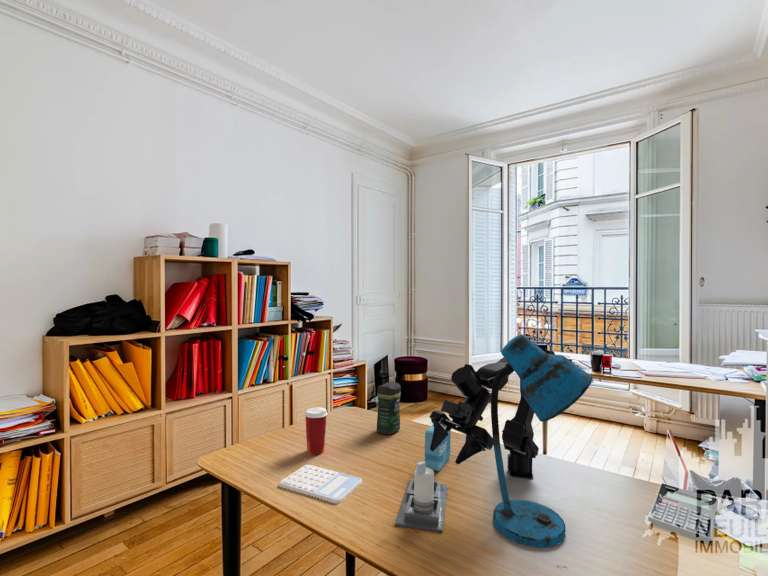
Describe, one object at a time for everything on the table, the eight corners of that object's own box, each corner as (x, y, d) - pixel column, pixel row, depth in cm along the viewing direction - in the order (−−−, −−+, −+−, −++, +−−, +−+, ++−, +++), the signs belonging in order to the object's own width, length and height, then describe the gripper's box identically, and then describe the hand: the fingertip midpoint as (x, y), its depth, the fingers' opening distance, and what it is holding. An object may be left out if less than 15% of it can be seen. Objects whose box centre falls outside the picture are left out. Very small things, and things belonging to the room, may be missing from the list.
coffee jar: (391, 436, 146) (392, 387, 146) (373, 432, 150) (374, 384, 150) (403, 428, 155) (404, 381, 155) (385, 425, 159) (386, 379, 159)
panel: (447, 487, 110) (447, 479, 110) (442, 532, 90) (442, 522, 90) (409, 482, 112) (409, 474, 112) (395, 525, 92) (395, 516, 92)
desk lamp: (596, 561, 81) (599, 342, 81) (486, 536, 88) (488, 336, 88) (585, 518, 96) (587, 334, 96) (492, 500, 103) (494, 329, 103)
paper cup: (331, 450, 134) (332, 409, 134) (316, 458, 127) (316, 415, 127) (314, 445, 138) (315, 405, 138) (298, 452, 131) (299, 411, 131)
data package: (438, 473, 118) (438, 433, 118) (424, 470, 120) (424, 430, 120) (450, 458, 129) (450, 421, 129) (437, 455, 131) (437, 419, 131)
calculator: (307, 468, 121) (307, 462, 121) (363, 483, 112) (363, 477, 112) (277, 488, 109) (277, 481, 109) (338, 506, 100) (338, 499, 100)
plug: (424, 504, 100) (425, 455, 100) (438, 513, 96) (438, 463, 96) (409, 510, 97) (409, 460, 97) (422, 520, 93) (423, 468, 93)
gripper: (434, 381, 111) (403, 427, 105) (487, 396, 96) (454, 452, 89) (454, 404, 116) (425, 450, 109) (507, 423, 100) (477, 477, 94)
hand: (443, 456), depth 100 cm, fingers open, 9 cm apart
